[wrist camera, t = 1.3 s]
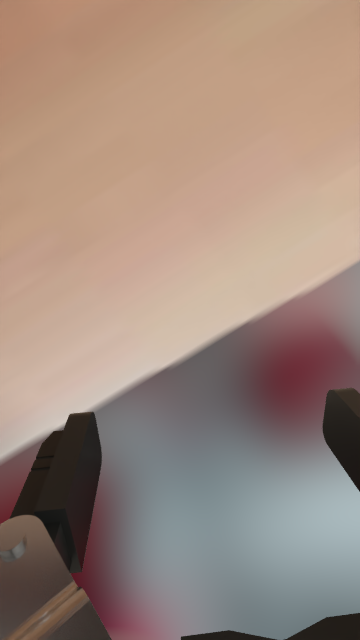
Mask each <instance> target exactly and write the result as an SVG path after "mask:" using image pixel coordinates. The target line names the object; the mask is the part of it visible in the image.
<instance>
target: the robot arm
mask: <svg viewBox="0 0 360 640" xmlns="http://www.w3.org/2000/svg"><path fill="white" fill-rule="evenodd" d="M323 434H324V438H325V441H326V443H327V445H328V446H329V448H330V449H331V451H332V452H333V454H334V455H335V456H336V458H337V459H338V461H339V462H340V464H341V465H342V467H343V468H344V470H345V471H346V472H347V474H348V475H349V477H350V478H351V480H352V481H353V483H354V484H355V486H356V487H357V488H358V490H359V491H360V394H359V393H358V392H357V391H356V390H355V389H353V388H347V389H335V390H329V391H328V393H327V397H326V405H325V412H324V419H323ZM101 463H102V452H101V445H100V439H99V434H98V428H97V424H96V418H95V414H94V412H84V413H74V414H70V415H69V417H68V420H67V422H66V425H65V428H64V430H62V431H53V433H52V434H51V435H50V436H49V437H48V438H47V439H46V440H45V441H44V442H43V443H42V445H41V447H40V449H39V452H38V454H37V457H36V460H35V461H34V463H33V466H32V468H31V472H30V473H29V475H28V477H27V480H26V482H25V484H24V487H23V489H22V491H21V493H20V496H19V498H18V501H17V503H16V505H15V507H14V510H13V512H12V515H11V517H10V519H9V520H7V521H6V522H3V523H2V524H1V525H0V640H111V638H110V636H109V634H108V632H107V631H106V629H105V627H104V625H103V623H102V622H101V620H100V618H99V616H98V614H97V612H96V611H95V609H94V607H93V605H92V603H91V602H90V600H89V598H88V596H87V595H86V593H85V592H84V590H83V589H82V588H81V587H79V588H78V587H77V585H76V583H75V582H74V580H73V578H72V576H71V574H70V573H77V572H82V568H83V563H84V557H85V552H86V546H87V541H88V536H89V530H90V524H91V520H92V514H93V508H94V502H95V497H96V492H97V487H98V481H99V476H100V470H101ZM181 640H275V639H270V638H265V637H260V636H255V635H249V634H245V633H240V632H235V631H229V630H228V631H221V632H213V633H206V634H198V635H191V636H183V637H181ZM285 640H360V613H356V614H349V615H342V616H334V617H326V618H325V619H323V620H321V621H319V622H317V623H315V624H313V625H312V626H310V627H308V628H306V629H304V630H302V631H301V632H299V633H297V634H295V635H293V636H291V637H289V638H288V639H285Z"/></svg>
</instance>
